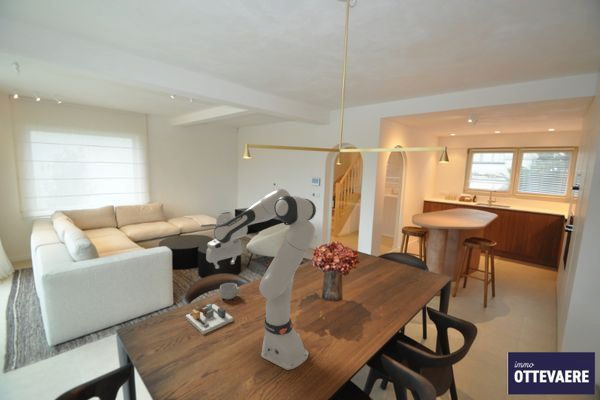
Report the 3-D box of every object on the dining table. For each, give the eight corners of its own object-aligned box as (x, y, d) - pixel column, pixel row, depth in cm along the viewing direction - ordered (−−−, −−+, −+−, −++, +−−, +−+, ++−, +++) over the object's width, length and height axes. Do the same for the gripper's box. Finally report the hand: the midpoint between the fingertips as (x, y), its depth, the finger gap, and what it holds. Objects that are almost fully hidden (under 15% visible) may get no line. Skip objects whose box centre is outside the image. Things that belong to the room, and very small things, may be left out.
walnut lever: (211, 312, 145) (198, 306, 139) (209, 316, 144) (195, 311, 138) (209, 310, 147) (195, 305, 141) (206, 314, 146) (193, 309, 140)
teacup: (216, 298, 168) (215, 286, 167) (228, 292, 177) (228, 280, 176) (233, 304, 161) (232, 292, 160) (244, 297, 171) (244, 285, 170)
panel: (232, 320, 144) (232, 311, 144) (203, 334, 132) (202, 324, 131) (214, 307, 158) (214, 298, 157) (185, 318, 145) (185, 309, 145)
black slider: (225, 315, 145) (225, 309, 144) (221, 317, 143) (221, 311, 142) (221, 313, 147) (221, 307, 147) (217, 314, 146) (217, 308, 145)
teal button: (213, 307, 153) (213, 305, 152) (207, 310, 150) (207, 307, 150) (210, 305, 155) (210, 303, 155) (205, 307, 152) (205, 305, 152)
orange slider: (200, 317, 143) (200, 311, 142) (195, 319, 141) (195, 313, 140) (196, 314, 145) (196, 308, 145) (192, 316, 143) (192, 310, 143)
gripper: (237, 237, 153) (238, 260, 155) (204, 243, 139) (205, 269, 140) (244, 239, 149) (244, 262, 151) (210, 246, 134) (211, 272, 136)
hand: (225, 266), depth 145 cm, fingers open, 8 cm apart
